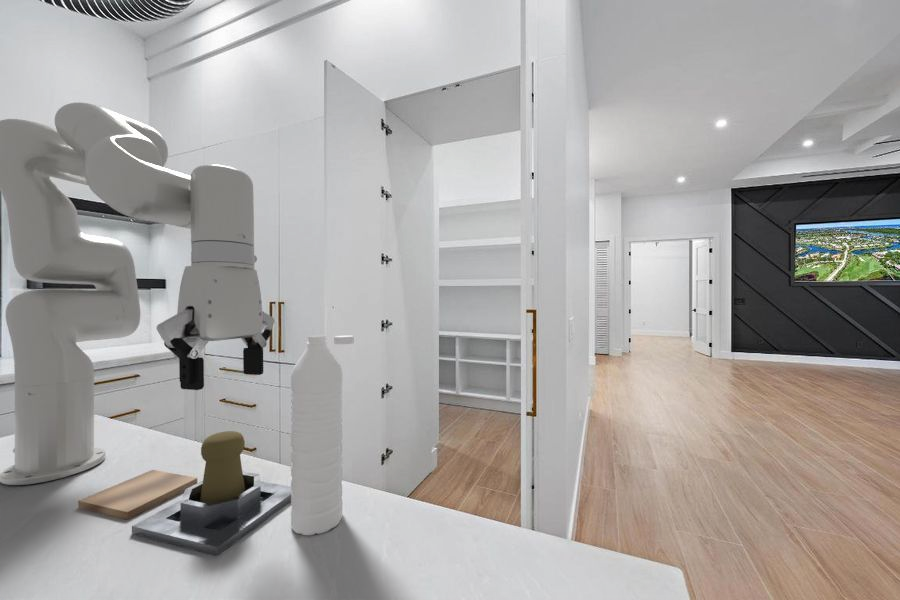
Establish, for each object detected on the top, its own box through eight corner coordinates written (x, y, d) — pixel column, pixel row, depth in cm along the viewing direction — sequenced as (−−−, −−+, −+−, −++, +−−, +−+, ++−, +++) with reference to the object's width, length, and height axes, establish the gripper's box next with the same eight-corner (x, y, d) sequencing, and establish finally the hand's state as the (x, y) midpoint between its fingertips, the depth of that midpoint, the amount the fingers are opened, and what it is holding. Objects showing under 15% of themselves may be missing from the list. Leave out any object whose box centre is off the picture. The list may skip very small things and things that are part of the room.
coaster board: (78, 507, 52) (78, 500, 52) (152, 475, 62) (152, 469, 62) (127, 519, 50) (127, 512, 50) (197, 484, 59) (197, 477, 59)
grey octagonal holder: (131, 533, 47) (131, 506, 47) (227, 481, 60) (227, 460, 60) (217, 555, 43) (217, 525, 43) (299, 494, 56) (299, 471, 56)
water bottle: (279, 530, 47) (279, 336, 47) (313, 504, 53) (313, 332, 53) (336, 545, 44) (336, 338, 44) (365, 515, 50) (365, 334, 51)
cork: (224, 528, 48) (224, 443, 48) (185, 522, 49) (185, 440, 49) (257, 503, 54) (257, 428, 54) (222, 498, 55) (222, 425, 55)
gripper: (252, 265, 61) (253, 369, 60) (136, 252, 44) (138, 394, 44) (289, 263, 58) (291, 370, 58) (183, 248, 42) (185, 398, 42)
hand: (225, 380), depth 51 cm, fingers open, 9 cm apart
